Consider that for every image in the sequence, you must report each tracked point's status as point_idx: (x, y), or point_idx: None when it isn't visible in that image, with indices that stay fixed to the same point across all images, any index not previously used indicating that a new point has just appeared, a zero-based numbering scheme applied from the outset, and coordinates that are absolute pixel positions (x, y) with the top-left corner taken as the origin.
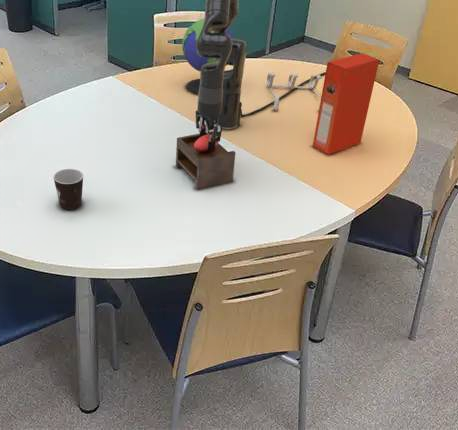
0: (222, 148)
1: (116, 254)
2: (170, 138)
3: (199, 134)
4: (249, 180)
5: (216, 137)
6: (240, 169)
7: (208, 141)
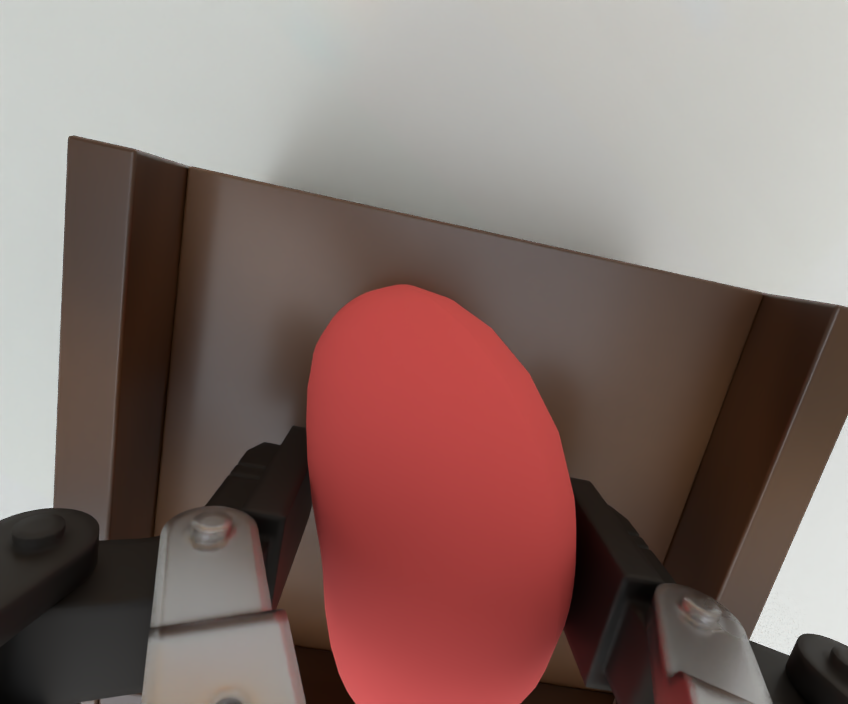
0: (525, 270)
1: None
2: None
3: (93, 404)
4: (713, 139)
5: (748, 664)
6: (542, 68)
7: (554, 647)
